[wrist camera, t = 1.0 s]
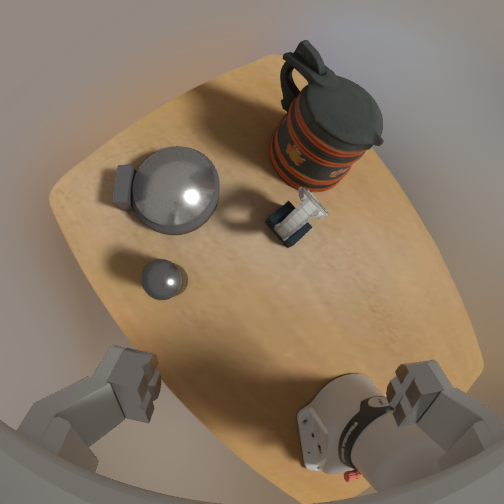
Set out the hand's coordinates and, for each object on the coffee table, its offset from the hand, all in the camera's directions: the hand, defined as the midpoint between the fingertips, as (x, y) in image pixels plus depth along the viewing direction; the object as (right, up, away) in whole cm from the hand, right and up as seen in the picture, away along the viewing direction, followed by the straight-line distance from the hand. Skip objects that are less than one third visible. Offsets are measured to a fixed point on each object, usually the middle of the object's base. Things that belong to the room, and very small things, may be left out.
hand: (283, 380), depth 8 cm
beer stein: (+8, +23, +39) cm, 46 cm away
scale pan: (-13, +14, +31) cm, 36 cm away
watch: (+5, +8, +37) cm, 38 cm away
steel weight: (-13, 0, +33) cm, 36 cm away
